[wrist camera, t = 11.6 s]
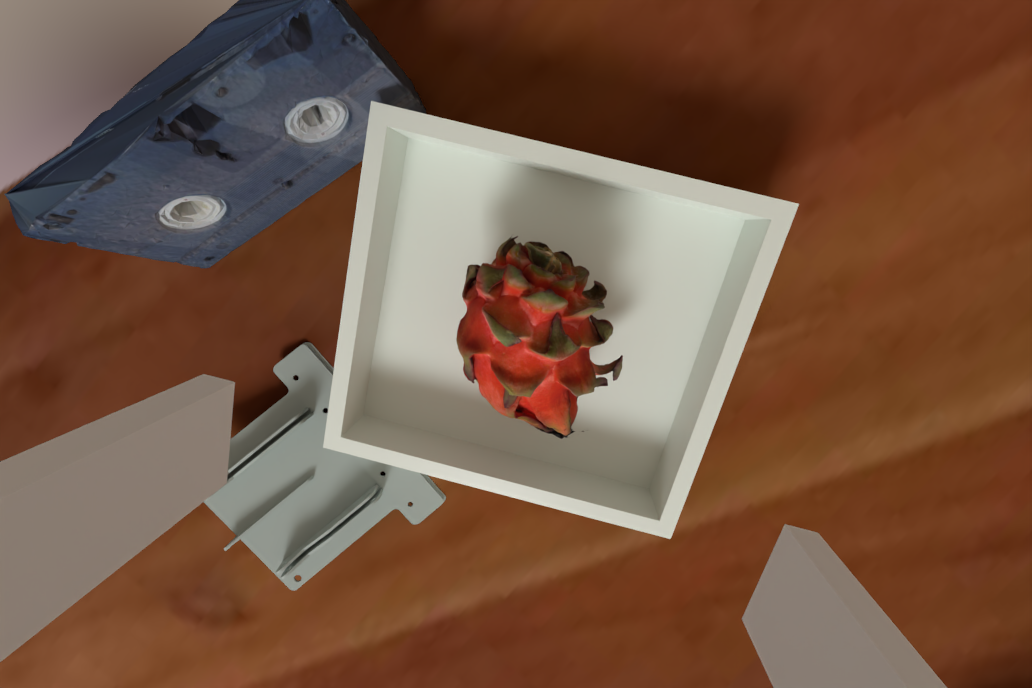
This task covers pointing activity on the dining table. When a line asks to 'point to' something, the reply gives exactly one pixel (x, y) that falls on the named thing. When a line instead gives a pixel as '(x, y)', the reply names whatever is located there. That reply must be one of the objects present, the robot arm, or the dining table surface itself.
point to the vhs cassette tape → (219, 136)
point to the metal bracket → (308, 480)
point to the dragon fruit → (533, 335)
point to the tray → (628, 307)
